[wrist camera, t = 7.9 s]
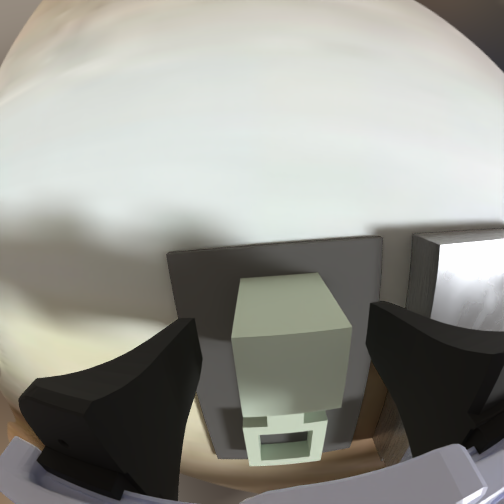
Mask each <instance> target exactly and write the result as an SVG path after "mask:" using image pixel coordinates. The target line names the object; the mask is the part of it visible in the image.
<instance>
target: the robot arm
mask: <svg viewBox="0 0 504 504" xmlns="http://www.w3.org/2000/svg"><path fill="white" fill-rule="evenodd" d="M365 344H366V347H367V350H368V353H369V355H370V358H371V360H372V362H373V364H374V366H375V368H376V370H377V371H378V373H379V375H380V377H381V378H382V380H383V382H384V384H385V385H386V387H387V389H388V391H389V393H390V394H391V396H392V398H393V400H394V402H395V404H396V406H397V409H398V412H399V414H400V417H401V420H402V422H403V425H404V429H405V432H406V435H407V438H408V442H409V446H410V450H411V454H412V459H410V460H407V461H404V462H401V463H398V464H395V465H392V466H389V467H386V468H382V469H379V470H376V471H372V472H368V473H364V474H361V475H356V476H352V477H348V478H343V479H338V480H333V481H327V482H321V483H315V484H308V485H300V486H294V487H289V488H284V489H278V490H271V491H266V492H263V493H261V494H258V495H256V496H253V497H250V498H247V499H245V500H244V501H242V502H240V503H239V504H504V331H482V330H475V329H468V328H462V327H458V326H454V325H450V324H446V323H442V322H439V321H436V320H433V319H430V318H428V317H425V316H422V315H420V314H417V313H415V312H412V311H410V310H407V309H405V308H402V307H400V306H397V305H394V304H392V303H389V302H385V301H379V302H372V303H370V308H369V318H368V327H367V335H366V342H365ZM202 361H203V357H202V352H201V347H200V343H199V338H198V333H197V328H196V323H195V318H180V319H178V320H176V321H175V322H173V323H172V324H170V325H169V326H167V327H166V328H165V329H163V330H162V331H160V332H159V333H157V334H156V335H155V336H153V337H152V338H150V339H149V340H147V341H146V342H144V343H142V344H141V345H139V346H138V347H136V348H134V349H133V350H131V351H129V352H127V353H125V354H124V355H122V356H119V357H117V358H115V359H113V360H111V361H108V362H106V363H103V364H100V365H98V366H95V367H92V368H89V369H86V370H83V371H79V372H75V373H71V374H66V375H61V376H53V377H45V378H37V379H35V380H34V382H33V383H32V384H31V385H30V386H29V387H28V388H27V389H26V390H25V391H24V393H23V394H22V395H21V396H20V398H19V400H18V401H19V408H20V410H21V413H22V415H23V416H24V418H25V420H26V421H27V423H28V424H29V425H30V427H31V428H32V429H33V431H34V432H35V433H36V435H37V436H38V437H39V439H40V440H41V441H42V442H43V444H44V445H45V448H44V449H43V451H42V452H41V451H40V450H39V449H38V448H37V447H35V446H34V445H32V444H30V443H28V442H26V441H24V440H23V439H21V438H19V437H17V436H15V437H14V438H13V439H12V441H11V442H10V444H9V445H8V446H7V448H6V449H5V451H4V452H3V453H2V455H1V456H0V491H1V492H2V493H3V494H4V495H5V496H6V497H8V498H9V499H10V500H11V501H12V502H14V503H15V504H194V503H186V502H179V501H178V485H179V472H180V462H181V454H182V446H183V439H184V433H185V427H186V423H187V419H188V416H189V412H190V409H191V406H192V403H193V399H194V396H195V393H196V390H197V386H198V383H199V380H200V375H201V368H202Z"/></svg>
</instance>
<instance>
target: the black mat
mask: <svg viewBox="0 0 504 504" xmlns="http://www.w3.org/2000/svg"><path fill="white" fill-rule="evenodd" d="M382 245H383V238H382V237H380V236H375V237H361V238H347V239H333V240H319V241H305V242H292V243H279V244H266V245H253V246H240V247H227V248H215V249H202V250H190V251H178V252H169V253H168V254H166V255H167V261H168V267H169V273H170V278H171V284H172V289H173V294H174V300H175V305H176V310H177V314H178V319H180V318H195V323H196V328H197V333H198V338H199V343H200V347H201V352H202V357H203V361H202V368H201V375H200V380H199V383H198V386H197V390H196V392H197V395H198V399H199V402H200V405H201V409H202V412H203V415H204V419H205V422H206V425H207V428H208V431H209V434H210V437H211V440H212V443H213V446H214V449H215V452H216V455H217V457H218V459H248V455H247V449H246V444H245V438H244V433H243V414H242V408H241V402H240V395H239V389H238V382H237V376H236V369H235V362H234V355H233V348H232V340H231V336H232V329H233V323H234V316H235V310H236V304H237V297H238V291H239V285H240V278H252V277H266V276H280V275H293V274H305V273H317V272H318V273H319V275H320V277H321V278H322V280H323V281H324V283H325V284H326V286H327V287H328V289H329V290H330V292H331V294H332V295H333V297H334V298H335V300H336V301H337V303H338V305H339V306H340V308H341V309H342V311H343V313H344V314H345V316H346V317H347V319H348V321H349V322H350V324H351V326H352V335H351V344H350V353H349V361H348V368H347V375H346V382H345V388H344V394H343V400H342V405H341V408H336V409H330V410H325V412H326V415H327V419H328V422H327V428H326V434H325V439H324V445H323V450H322V452H328V451H334V450H339V449H345V448H349V447H350V445H351V442H352V439H353V435H354V432H355V428H356V425H357V421H358V417H359V413H360V409H361V405H362V401H363V397H364V392H365V387H366V383H367V378H368V373H369V368H370V362H371V358H370V355H369V353H368V350H367V347H366V344H365V342H366V335H367V327H368V318H369V308H370V303H372V302H379V295H380V283H381V268H382ZM307 435H308V431H303V432H294V433H283V434H269V435H260V442H261V444H275V443H288V442H298V441H307Z"/></svg>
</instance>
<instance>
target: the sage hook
mask: <svg viewBox="0 0 504 504" xmlns="http://www.w3.org/2000/svg"><path fill="white" fill-rule="evenodd" d="M351 335H352V326H351V324H350V322H349V321H348V319H347V317H346V316H345V314H344V313H343V311H342V309H341V308H340V306H339V305H338V303H337V301H336V300H335V298H334V297H333V295H332V294H331V292H330V290H329V289H328V287H327V286H326V284H325V283H324V281H323V280H322V278H321V277H320V275H319V273H318V272H317V273H305V274H293V275H280V276H266V277H252V278H240V285H239V291H238V297H237V304H236V310H235V316H234V323H233V329H232V336H231V340H232V348H233V355H234V362H235V369H236V376H237V382H238V389H239V395H240V402H241V408H242V414H243V433H244V438H245V444H246V449H247V455H248V460H249V465H250V466H269V465H284V464H295V463H303V462H311V461H318V460H321V455H322V450H323V445H324V439H325V434H326V428H327V422H328V419H327V415H326V412H325V410H330V409H336V408H341V405H342V400H343V394H344V388H345V382H346V375H347V368H348V361H349V353H350V344H351ZM303 431H308V435H307V441H298V442H288V443H275V444H261V442H260V435H269V434H283V433H294V432H303Z"/></svg>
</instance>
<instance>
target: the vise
mask: <svg viewBox="0 0 504 504" xmlns="http://www.w3.org/2000/svg"><path fill="white" fill-rule="evenodd" d="M406 309H407V310H410V311H412V312H415V313H417V314H420V315H422V316H425V317H428V318H430V319H433V320H436V321H439V322H442V323H446V324H450V325H454V326H458V327H462V328H468V329H475V330H482V331H504V228H499V229H482V230H466V231H450V232H434V233H419V234H413V236H412V255H411V268H410V278H409V287H408V295H407V303H406ZM373 441H374V443H375V446H376V449H377V451H378V454H379V457H380V459H381V461H382V460H384V462H385V465H386V467H389V466H392V465H395V464H398V463H401V462H404V461H407V460H410V459H412V454H411V450H410V446H409V442H408V438H407V435H406V432H405V429H404V425H403V422H402V420H401V417H400V414H399V412H398V409H397V406H396V404H395V402H394V400H393V398H392V396H391V394H390V393H389V391H388V393H387V396H386V400H385V403H384V406H383V409H382V412H381V415H380V418H379V421H378V424H377V427H376V430H375V433H374V435H373Z"/></svg>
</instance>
